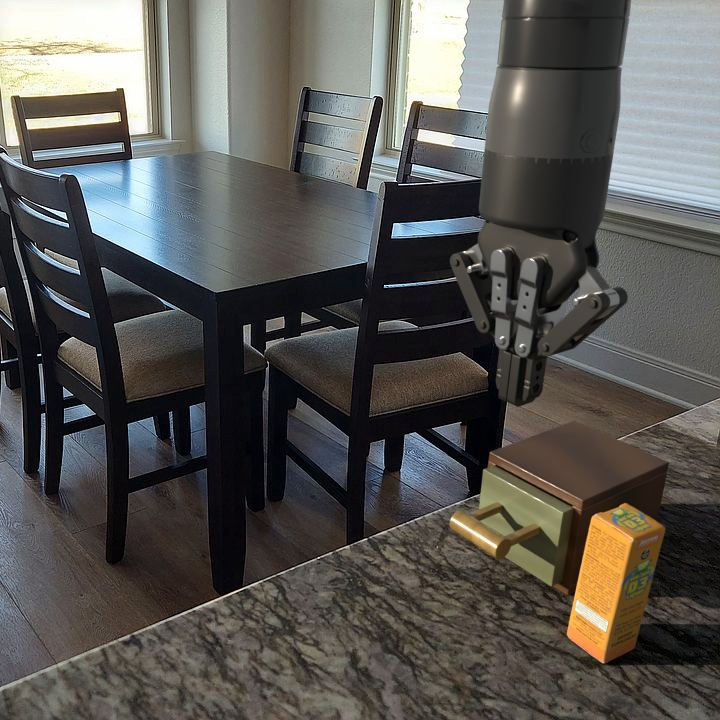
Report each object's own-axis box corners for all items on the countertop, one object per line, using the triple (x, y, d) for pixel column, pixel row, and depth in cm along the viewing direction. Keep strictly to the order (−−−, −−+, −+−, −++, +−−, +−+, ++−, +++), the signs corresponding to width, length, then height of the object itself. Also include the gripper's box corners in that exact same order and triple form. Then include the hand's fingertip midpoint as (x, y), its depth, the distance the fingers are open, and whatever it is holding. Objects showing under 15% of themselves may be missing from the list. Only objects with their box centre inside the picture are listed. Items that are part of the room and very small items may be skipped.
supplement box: (606, 669, 55) (631, 538, 52) (564, 637, 58) (585, 511, 55) (640, 651, 57) (667, 524, 53) (598, 622, 60) (621, 498, 56)
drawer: (506, 610, 60) (516, 534, 57) (431, 558, 65) (437, 486, 63) (628, 548, 66) (642, 477, 64) (550, 505, 72) (560, 439, 70)
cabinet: (567, 596, 62) (583, 500, 59) (479, 539, 69) (489, 451, 66) (651, 552, 67) (669, 462, 64) (561, 503, 74) (574, 420, 71)
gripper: (686, 151, 49) (636, 423, 55) (506, 128, 59) (482, 359, 66) (603, 164, 45) (560, 453, 52) (427, 137, 56) (409, 380, 62)
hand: (516, 400), depth 59 cm, fingers closed
